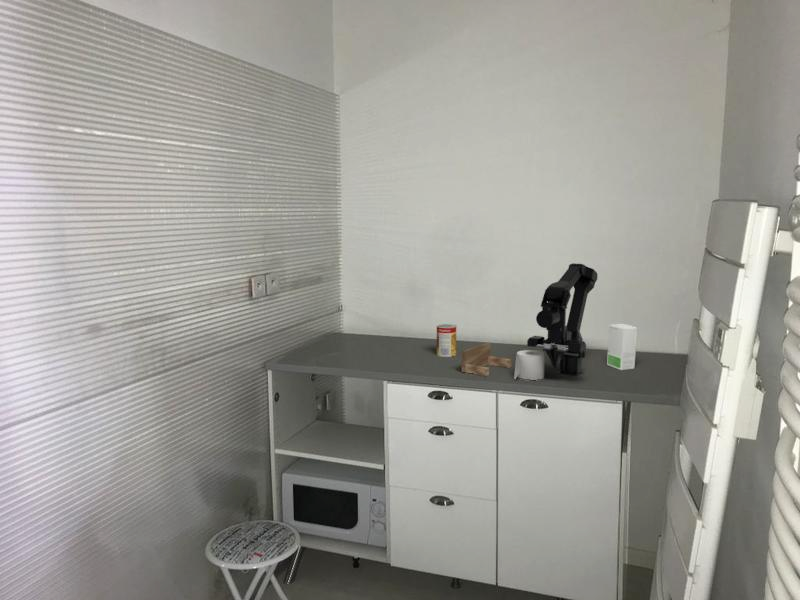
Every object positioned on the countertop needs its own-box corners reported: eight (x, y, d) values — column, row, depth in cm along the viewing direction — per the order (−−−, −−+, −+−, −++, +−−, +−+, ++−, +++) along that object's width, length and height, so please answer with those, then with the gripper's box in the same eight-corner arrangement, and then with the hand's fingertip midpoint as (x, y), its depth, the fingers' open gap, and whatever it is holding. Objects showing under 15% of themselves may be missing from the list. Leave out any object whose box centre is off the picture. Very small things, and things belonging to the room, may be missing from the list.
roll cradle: (511, 367, 240) (511, 346, 239) (486, 376, 227) (486, 354, 226) (486, 363, 246) (487, 342, 245) (461, 372, 233) (461, 350, 232)
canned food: (456, 352, 265) (456, 323, 263) (456, 357, 257) (456, 327, 255) (437, 352, 265) (437, 323, 264) (436, 357, 258) (436, 327, 256)
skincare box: (606, 365, 241) (607, 324, 239) (620, 363, 243) (622, 322, 241) (621, 370, 233) (623, 328, 231) (636, 368, 236) (638, 326, 233)
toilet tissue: (510, 381, 221) (510, 356, 219) (521, 372, 232) (522, 349, 231) (536, 384, 216) (536, 359, 215) (546, 375, 228) (547, 351, 227)
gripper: (592, 322, 218) (591, 367, 220) (540, 317, 229) (539, 360, 231) (580, 327, 209) (579, 374, 211) (526, 322, 220) (526, 367, 222)
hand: (555, 368), depth 219 cm, fingers closed
